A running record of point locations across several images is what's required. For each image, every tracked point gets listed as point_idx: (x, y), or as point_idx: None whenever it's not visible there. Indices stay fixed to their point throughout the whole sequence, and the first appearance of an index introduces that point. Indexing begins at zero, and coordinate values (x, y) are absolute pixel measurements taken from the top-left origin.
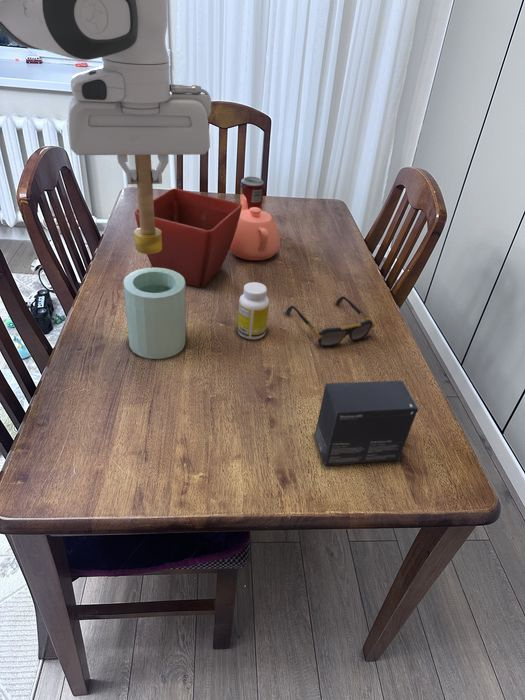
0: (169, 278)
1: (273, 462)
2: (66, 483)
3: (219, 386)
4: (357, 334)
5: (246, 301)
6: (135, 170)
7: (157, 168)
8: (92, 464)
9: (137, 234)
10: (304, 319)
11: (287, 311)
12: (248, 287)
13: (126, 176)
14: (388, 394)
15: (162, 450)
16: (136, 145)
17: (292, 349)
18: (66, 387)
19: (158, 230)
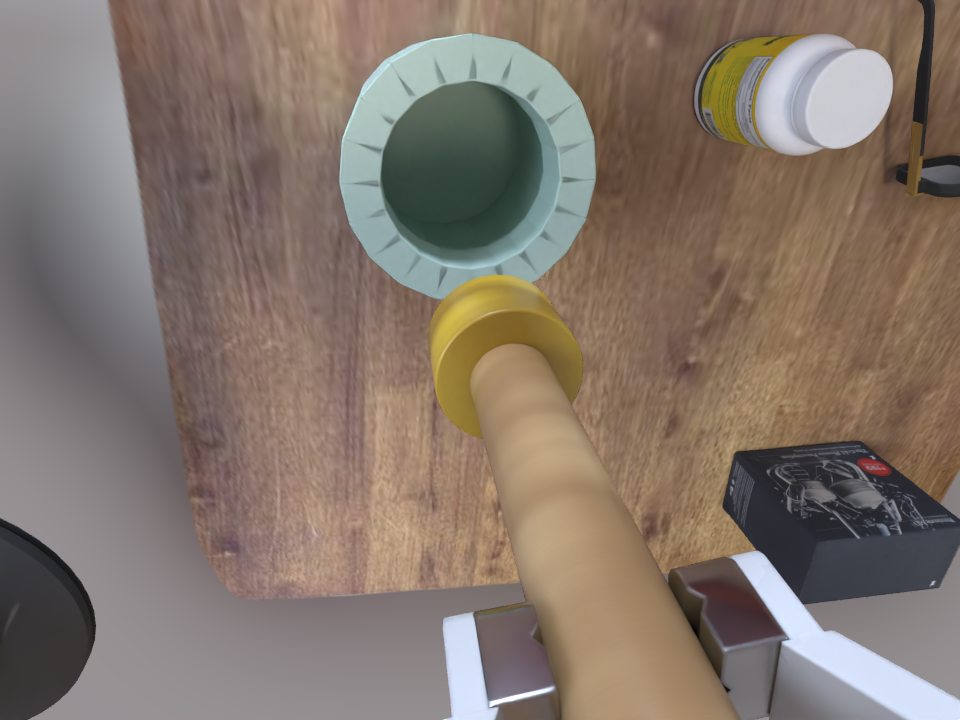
0: (530, 108)
1: (644, 503)
2: (307, 552)
3: (591, 329)
4: None
5: (781, 130)
6: (557, 705)
7: (800, 688)
8: (341, 520)
9: (454, 414)
10: (922, 97)
11: None
12: (825, 97)
13: (445, 651)
14: (915, 563)
15: (461, 490)
16: None
17: (814, 184)
18: (224, 337)
19: (569, 359)
